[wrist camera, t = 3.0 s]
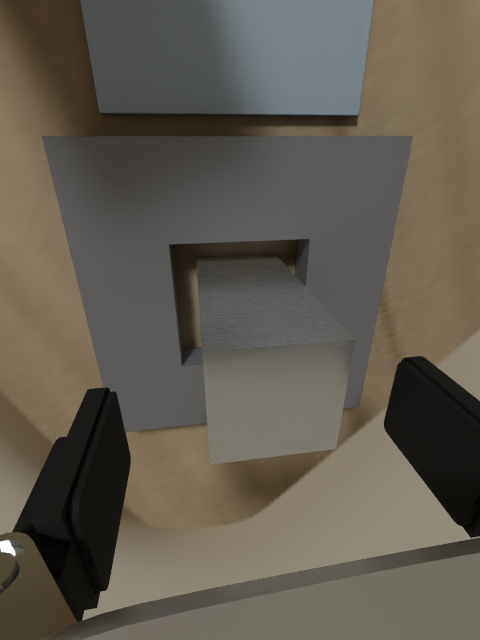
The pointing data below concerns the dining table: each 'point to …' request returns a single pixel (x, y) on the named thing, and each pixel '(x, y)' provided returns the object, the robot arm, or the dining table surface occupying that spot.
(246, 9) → the blue pad
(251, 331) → the steel plug
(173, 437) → the dining table surface
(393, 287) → the dining table surface
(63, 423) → the dining table surface
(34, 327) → the dining table surface
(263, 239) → the socket block
